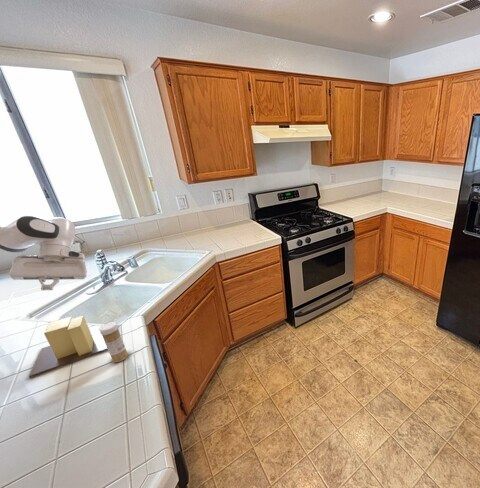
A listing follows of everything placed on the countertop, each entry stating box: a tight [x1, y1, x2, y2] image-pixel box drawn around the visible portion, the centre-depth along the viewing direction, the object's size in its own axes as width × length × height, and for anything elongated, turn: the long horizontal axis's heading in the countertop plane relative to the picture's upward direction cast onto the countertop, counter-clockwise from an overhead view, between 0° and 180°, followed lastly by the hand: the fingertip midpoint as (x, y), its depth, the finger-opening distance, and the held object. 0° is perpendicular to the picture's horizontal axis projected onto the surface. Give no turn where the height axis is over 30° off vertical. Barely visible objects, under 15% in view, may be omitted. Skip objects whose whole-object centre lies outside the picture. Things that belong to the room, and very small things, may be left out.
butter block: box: [43, 316, 77, 359], centre depth 93 cm, size 6×7×11 cm
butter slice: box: [67, 315, 94, 356], centre depth 93 cm, size 3×8×11 cm, turn 36°
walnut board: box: [28, 329, 108, 379], centre depth 96 cm, size 22×16×1 cm
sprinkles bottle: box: [98, 321, 129, 363], centre depth 88 cm, size 5×5×14 cm
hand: (46, 290), depth 96 cm, fingers closed
